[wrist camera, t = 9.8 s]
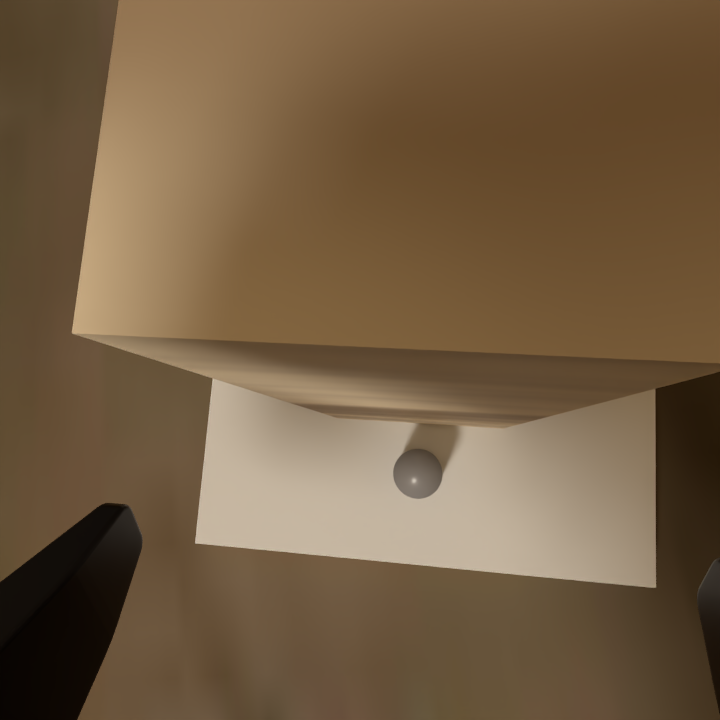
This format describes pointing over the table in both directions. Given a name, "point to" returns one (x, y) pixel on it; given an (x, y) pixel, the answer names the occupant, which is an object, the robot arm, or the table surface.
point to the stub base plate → (437, 488)
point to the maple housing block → (412, 201)
